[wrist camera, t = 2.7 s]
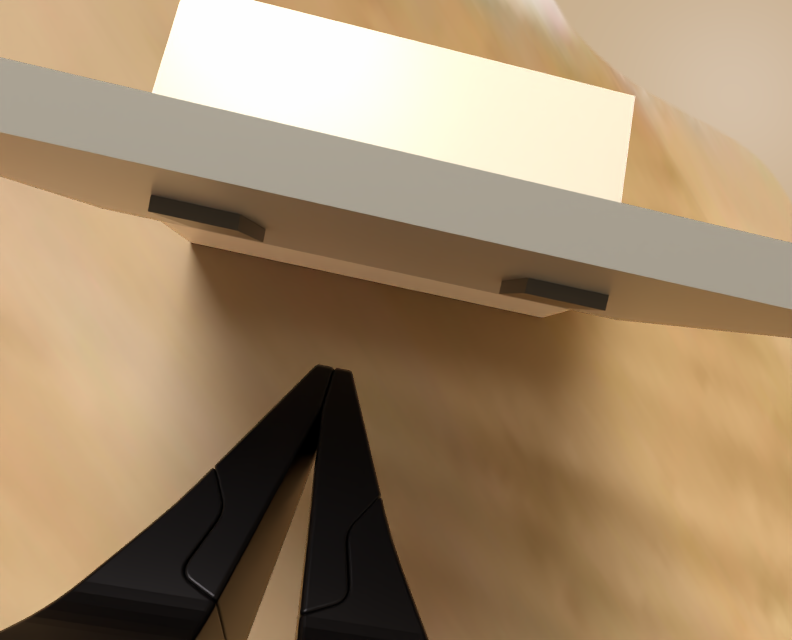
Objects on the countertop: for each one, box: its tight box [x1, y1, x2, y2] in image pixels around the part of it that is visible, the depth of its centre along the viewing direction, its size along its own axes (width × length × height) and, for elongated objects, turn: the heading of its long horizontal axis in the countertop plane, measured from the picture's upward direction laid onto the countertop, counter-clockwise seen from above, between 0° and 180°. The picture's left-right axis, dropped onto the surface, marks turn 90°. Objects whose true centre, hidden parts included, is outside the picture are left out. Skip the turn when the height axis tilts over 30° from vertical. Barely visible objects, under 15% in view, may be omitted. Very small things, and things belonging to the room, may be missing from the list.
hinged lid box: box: [152, 0, 635, 318], centre depth 18 cm, size 8×25×6 cm, turn 79°
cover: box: [0, 57, 792, 338], centre depth 9 cm, size 9×18×1 cm
